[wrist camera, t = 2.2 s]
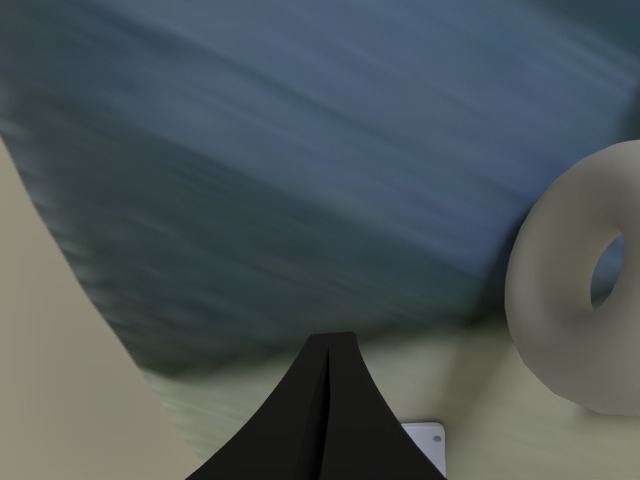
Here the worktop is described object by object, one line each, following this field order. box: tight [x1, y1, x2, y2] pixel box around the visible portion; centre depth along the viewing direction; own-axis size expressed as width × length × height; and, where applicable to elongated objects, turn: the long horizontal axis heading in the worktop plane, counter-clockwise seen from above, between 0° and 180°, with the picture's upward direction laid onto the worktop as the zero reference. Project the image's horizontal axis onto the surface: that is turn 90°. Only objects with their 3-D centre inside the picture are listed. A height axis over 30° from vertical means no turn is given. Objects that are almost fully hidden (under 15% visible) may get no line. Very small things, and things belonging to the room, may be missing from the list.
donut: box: [505, 140, 640, 416], centre depth 13 cm, size 10×4×10 cm, turn 166°
